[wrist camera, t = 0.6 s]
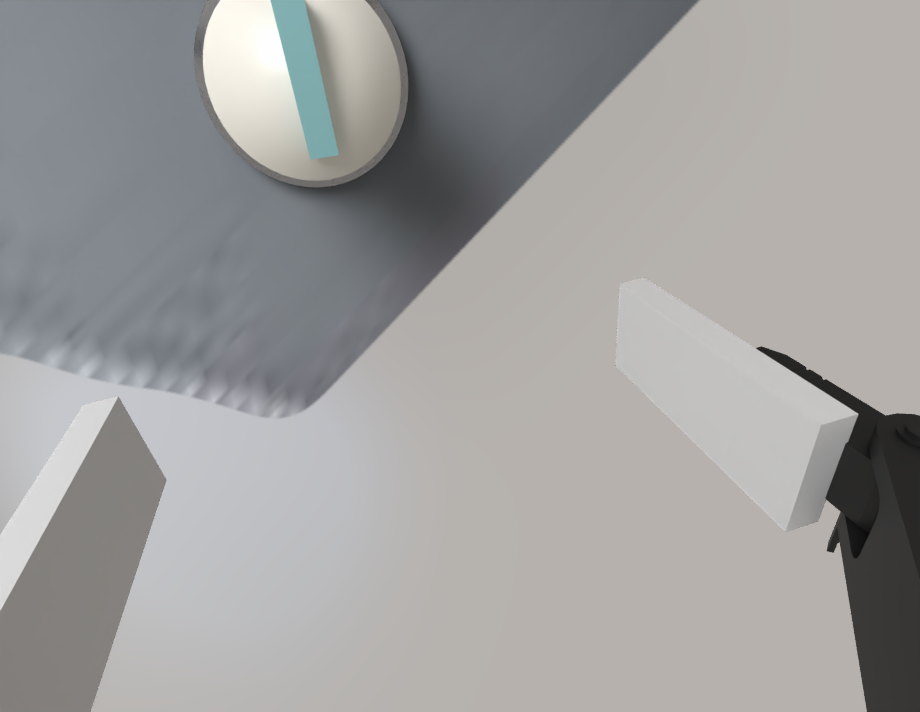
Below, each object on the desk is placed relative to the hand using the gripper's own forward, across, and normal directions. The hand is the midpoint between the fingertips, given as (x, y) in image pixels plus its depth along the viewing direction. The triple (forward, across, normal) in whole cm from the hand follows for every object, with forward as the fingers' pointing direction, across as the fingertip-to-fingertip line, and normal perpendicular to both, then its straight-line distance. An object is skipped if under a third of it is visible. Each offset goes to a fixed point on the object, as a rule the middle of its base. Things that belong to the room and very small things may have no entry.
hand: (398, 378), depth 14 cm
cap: (+18, -1, +7) cm, 19 cm away
